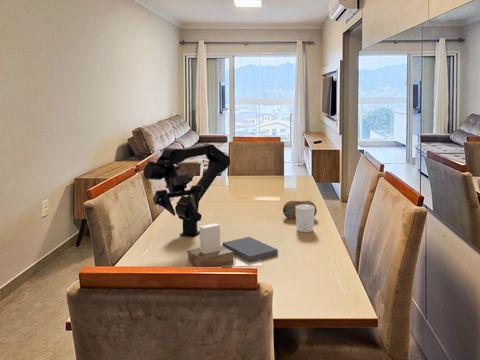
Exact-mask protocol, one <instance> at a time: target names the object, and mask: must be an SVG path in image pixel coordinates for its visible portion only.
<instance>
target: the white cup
mask: <svg viewBox="0 0 480 360" xmlns="http://www.w3.org/2000/svg"><path fill="white" fill-rule="evenodd" d="M295 209H296V219H295V224H296V231H297V232H300V233H310V232H313V231H314V224H315V223H314V222H315V216H314V211H315V207H314V206H312V205H297V206H295Z"/></svg>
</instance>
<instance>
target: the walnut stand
mask: <svg viewBox="0 0 480 360" xmlns="http://www.w3.org/2000/svg"><path fill="white" fill-rule="evenodd" d="M187 255H188V256H187V260H188V263H189V264H191V265H192V266H193V267H195V268H197V267H216V268H219V267H224V266H227V265H231V264H234V254H233V251H231V250H229V249H227V248H225V247H223V245H222V244H220V251H217V252H213V253H208V254H203V253H202V252H201V250H200V247H198V248H195V249H190V250H187Z"/></svg>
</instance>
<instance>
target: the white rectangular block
mask: <svg viewBox="0 0 480 360" xmlns="http://www.w3.org/2000/svg"><path fill="white" fill-rule="evenodd" d="M220 228H221V227H220V224H218V223H209V224H204V225H200V226H199V231H200V233H199V243H200V244H199V245H200V247H199V248H200V250H201V252H202V253H203V254H208V253H213V252H217V251H220V245H221V230H220Z"/></svg>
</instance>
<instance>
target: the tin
mask: <svg viewBox="0 0 480 360" xmlns="http://www.w3.org/2000/svg"><path fill="white" fill-rule="evenodd" d="M297 205H312V206H314V207H315V211H314V217H316V215H317V213H318V212H317V211H318V209H317V206H316V204H315V203H314V202H312V201H310V200H289V201H286V203H284V205H283V208H282V213H283V215H284V217H285V218H287V219H289V220H296V209H295V206H297Z"/></svg>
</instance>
